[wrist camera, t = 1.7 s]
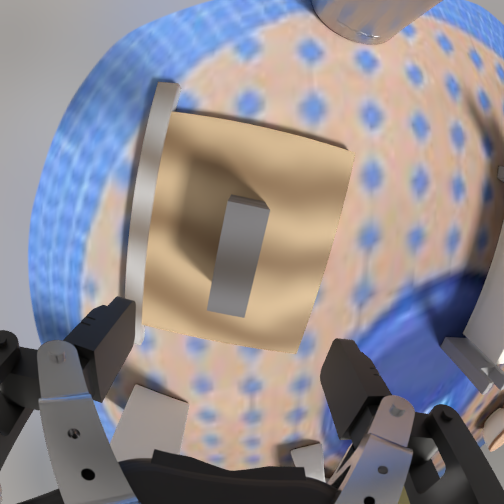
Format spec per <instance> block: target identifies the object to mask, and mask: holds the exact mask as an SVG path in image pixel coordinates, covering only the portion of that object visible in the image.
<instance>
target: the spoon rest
mask: <svg viewBox="0 0 504 504" xmlns="http://www.w3.org/2000/svg"><path fill="white" fill-rule="evenodd" d="M291 455H292V458H293V461H294V464H295V466H296V467H304V469H305V475H306V477H311V478H314V479H318V480H320V481H323V482H325V483H328V481H329V480H330V479H329V478H325V475H324V460H323V448H322V444H314V445H310V446H306V447H301V448H297V449H294V450H292V451H291Z"/></svg>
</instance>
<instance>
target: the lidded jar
mask: <svg viewBox="0 0 504 504" xmlns="http://www.w3.org/2000/svg"><path fill="white" fill-rule="evenodd" d="M483 438H484V441H485V443H486V445H487V446H488V448H489V450H490V451H494V450H496V449H497V448H499V447H500V446H501V445H503V443H504V408H499V409H497V410H496V411H495V412H493V413H492V414H491V415H490V417H489V418H488V419H487V420H486V422H485V423H484V430H483Z"/></svg>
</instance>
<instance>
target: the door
mask: <svg viewBox="0 0 504 504" xmlns="http://www.w3.org/2000/svg"><path fill="white" fill-rule="evenodd" d="M180 92H181V87H180V85H179V84H178V83H166V82H158V84H157V88H156V91H155V95H154V99H153V103H152V106H151V110H150V114H149V119H148V123H147V127H146V132H145V136H144V141H143V146H142V151H141V156H140V161H139V167H138V172H137V178H136V184H135V191H134V198H133V205H132V213H131V221H130V230H129V240H128V251H127V265H126V282H125V298H126V299H129V300H133V301H135V303H136V321H135V340H134V344H137V345H141V343H142V342H143V340H144V335H145V325H146V326H150V327H154V328H158V329H162V330H166V331H170V332H175V333H179V334H184V335H188V336H193V337H197V338H202V339H207V340H212V341H217V342H222V343H228V344H233V345H239V346H245V347H251V348H257V349H264V350H270V351H278V352H285V353H293V354H296V353H297V351H298V348H299V345H300V342H301V340H302V337H303V334H304V331H305V328H306V326H307V323H308V320H309V317H310V314H311V311H312V308H313V305H314V302H315V299H316V296H317V293H318V290H319V287H320V284H321V281H322V278H323V274H324V271H325V268H326V265H327V261H328V258H329V255H330V251H331V248H332V244H333V241H334V237H335V234H336V230H337V226H338V223H339V219H340V215H341V211H342V208H343V204H344V200H345V196H346V192H347V188H348V184H349V179H350V175H351V171H352V167H353V162H354V158H355V153H354V152H351V151H348V150H345V149H342V148H339V147H336V146H333V145H329V144H326V143H323V142H319V141H316V140H312V139H309V138H305V137H301V136H298V135H294V134H290V133H286V132H282V131H278V130H274V129H269V128H265V127H261V126H256V125H251V124H247V123H242V122H236V121H231V120H226V119H220V118H214V117H208V116H201V115H195V114H187V113H180V112H175V111H176V107H177V103H178V99H179V96H180Z"/></svg>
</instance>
